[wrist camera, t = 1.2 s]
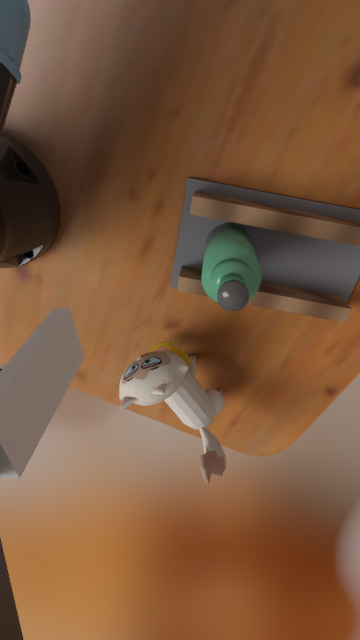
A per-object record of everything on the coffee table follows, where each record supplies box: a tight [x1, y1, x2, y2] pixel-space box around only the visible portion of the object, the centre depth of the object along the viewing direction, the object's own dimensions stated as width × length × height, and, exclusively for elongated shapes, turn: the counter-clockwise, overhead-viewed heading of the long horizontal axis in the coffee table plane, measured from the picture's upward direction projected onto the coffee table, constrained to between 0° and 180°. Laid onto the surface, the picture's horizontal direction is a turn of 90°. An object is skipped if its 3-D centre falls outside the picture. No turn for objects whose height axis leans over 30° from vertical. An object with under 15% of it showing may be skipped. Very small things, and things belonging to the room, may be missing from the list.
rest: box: [176, 191, 360, 323], centre depth 37 cm, size 20×11×4 cm, turn 81°
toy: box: [119, 342, 226, 484], centre depth 42 cm, size 9×19×15 cm, turn 34°
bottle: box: [201, 223, 262, 311], centre depth 33 cm, size 5×5×15 cm
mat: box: [171, 178, 360, 303], centre depth 39 cm, size 22×13×1 cm, turn 81°
